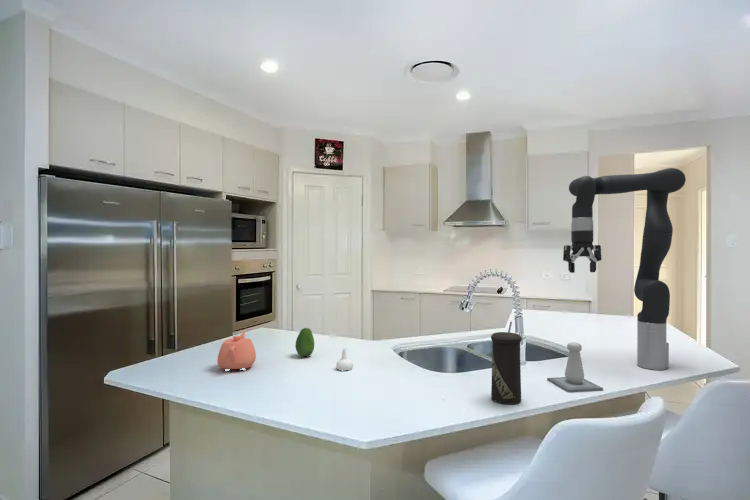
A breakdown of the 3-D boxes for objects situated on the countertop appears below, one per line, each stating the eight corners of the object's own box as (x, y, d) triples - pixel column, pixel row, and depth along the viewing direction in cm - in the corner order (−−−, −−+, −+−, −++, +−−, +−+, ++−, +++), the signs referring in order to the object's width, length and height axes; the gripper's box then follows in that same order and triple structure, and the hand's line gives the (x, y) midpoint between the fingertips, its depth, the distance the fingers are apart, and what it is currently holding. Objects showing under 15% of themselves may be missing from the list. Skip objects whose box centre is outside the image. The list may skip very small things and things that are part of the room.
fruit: (318, 355, 174) (318, 327, 174) (305, 360, 168) (305, 330, 167) (304, 353, 178) (304, 325, 178) (291, 357, 172) (291, 328, 172)
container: (486, 395, 128) (486, 330, 128) (514, 394, 129) (514, 329, 129) (497, 405, 119) (497, 336, 119) (527, 404, 120) (527, 335, 120)
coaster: (579, 378, 144) (579, 376, 144) (603, 390, 132) (603, 387, 132) (547, 380, 142) (547, 377, 142) (568, 392, 130) (568, 389, 130)
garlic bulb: (356, 370, 155) (357, 349, 156) (343, 372, 151) (345, 350, 151) (344, 367, 160) (345, 346, 160) (332, 369, 155) (333, 347, 156)
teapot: (260, 360, 168) (260, 330, 168) (249, 375, 148) (249, 341, 148) (226, 360, 167) (226, 330, 167) (211, 376, 147) (211, 342, 147)
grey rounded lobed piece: (586, 385, 134) (586, 345, 134) (567, 384, 135) (567, 344, 135) (580, 380, 139) (581, 341, 139) (562, 379, 141) (562, 340, 140)
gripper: (592, 230, 162) (592, 271, 162) (559, 230, 160) (559, 272, 160) (606, 229, 155) (606, 272, 155) (571, 229, 153) (571, 273, 153)
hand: (582, 272), depth 158 cm, fingers open, 8 cm apart
